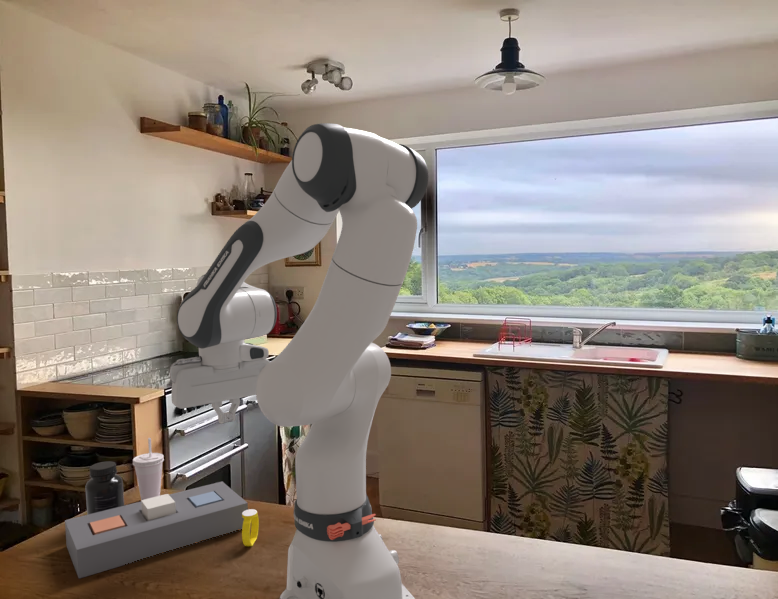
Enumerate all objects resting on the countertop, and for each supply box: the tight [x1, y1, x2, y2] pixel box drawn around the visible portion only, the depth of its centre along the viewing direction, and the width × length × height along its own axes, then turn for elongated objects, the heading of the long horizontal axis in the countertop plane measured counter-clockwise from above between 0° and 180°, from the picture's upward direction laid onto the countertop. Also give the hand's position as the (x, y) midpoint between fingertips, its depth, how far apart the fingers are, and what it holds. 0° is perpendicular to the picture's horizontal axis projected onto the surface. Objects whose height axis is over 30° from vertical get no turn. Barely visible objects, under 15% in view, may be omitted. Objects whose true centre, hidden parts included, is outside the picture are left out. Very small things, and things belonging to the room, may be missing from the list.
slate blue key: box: [189, 491, 222, 508], centre depth 120 cm, size 5×5×4 cm
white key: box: [140, 493, 176, 521], centre depth 114 cm, size 5×5×4 cm
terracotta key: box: [90, 515, 125, 535], centre depth 109 cm, size 5×5×4 cm
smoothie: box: [132, 437, 165, 501], centre depth 131 cm, size 6×6×14 cm
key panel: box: [64, 481, 249, 579], centre depth 114 cm, size 30×14×5 cm, turn 126°
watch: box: [241, 508, 260, 547], centre depth 111 cm, size 6×3×6 cm, turn 176°
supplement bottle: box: [84, 461, 125, 515], centre depth 121 cm, size 7×7×12 cm
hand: (227, 422), depth 120 cm, fingers closed
